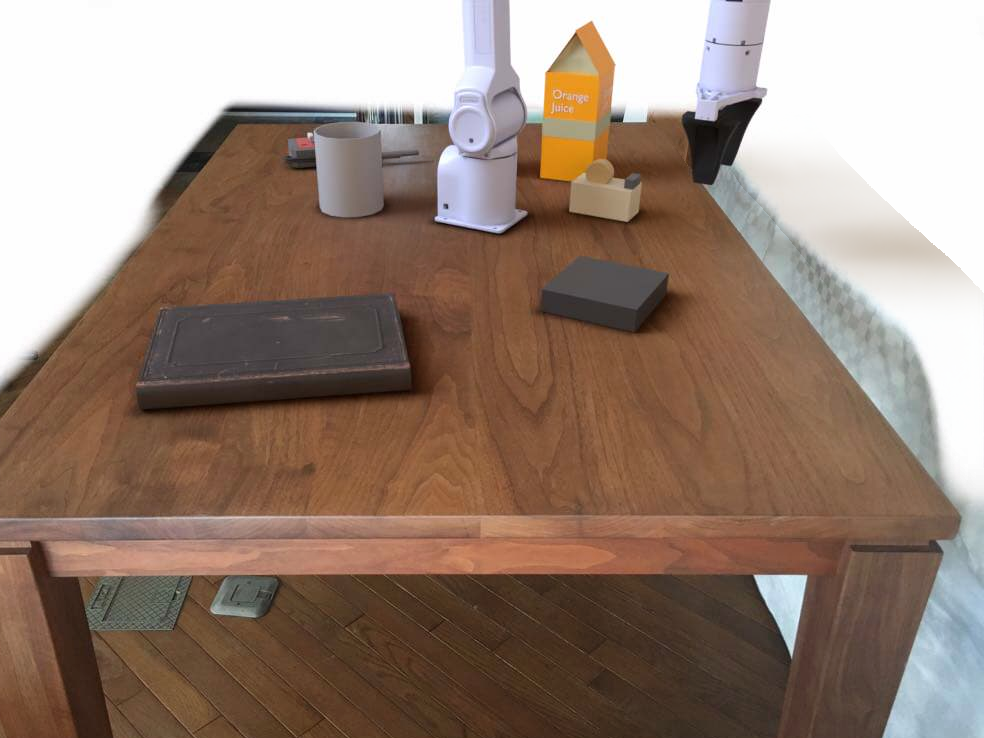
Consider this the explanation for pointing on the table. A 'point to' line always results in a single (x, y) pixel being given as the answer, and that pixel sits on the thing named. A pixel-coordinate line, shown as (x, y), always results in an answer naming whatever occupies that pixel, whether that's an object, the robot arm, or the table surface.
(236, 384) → the hardcover book
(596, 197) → the tape dispenser
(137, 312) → the table surface
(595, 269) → the black box
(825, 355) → the table surface
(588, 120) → the orange juice
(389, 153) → the walkie-talkie
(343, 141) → the cup
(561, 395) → the table surface
